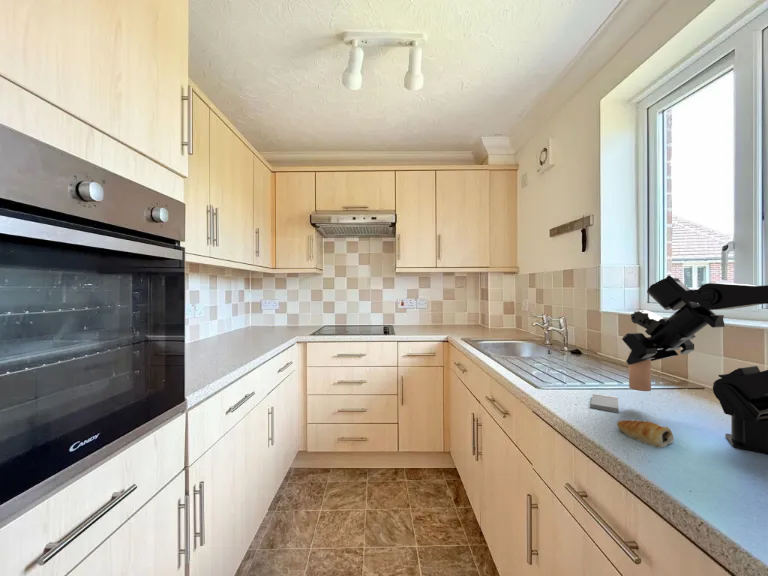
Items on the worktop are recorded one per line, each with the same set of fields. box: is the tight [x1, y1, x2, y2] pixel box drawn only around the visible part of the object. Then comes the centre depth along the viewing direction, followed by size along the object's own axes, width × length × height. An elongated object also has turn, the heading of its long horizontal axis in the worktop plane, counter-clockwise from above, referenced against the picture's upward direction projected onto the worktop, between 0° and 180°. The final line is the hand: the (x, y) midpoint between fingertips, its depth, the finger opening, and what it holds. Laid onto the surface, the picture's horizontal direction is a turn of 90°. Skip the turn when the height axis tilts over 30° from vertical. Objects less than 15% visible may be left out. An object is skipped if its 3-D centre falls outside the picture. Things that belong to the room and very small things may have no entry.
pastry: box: [616, 419, 674, 448], centre depth 73 cm, size 9×7×4 cm
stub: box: [628, 347, 652, 392], centre depth 89 cm, size 5×5×12 cm
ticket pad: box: [590, 393, 619, 413], centre depth 92 cm, size 10×6×1 cm, turn 146°
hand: (634, 362), depth 90 cm, fingers closed on stub, 5 cm apart
